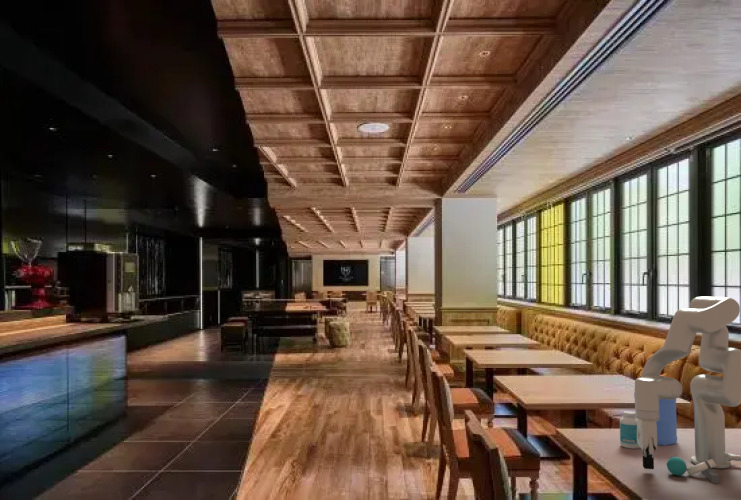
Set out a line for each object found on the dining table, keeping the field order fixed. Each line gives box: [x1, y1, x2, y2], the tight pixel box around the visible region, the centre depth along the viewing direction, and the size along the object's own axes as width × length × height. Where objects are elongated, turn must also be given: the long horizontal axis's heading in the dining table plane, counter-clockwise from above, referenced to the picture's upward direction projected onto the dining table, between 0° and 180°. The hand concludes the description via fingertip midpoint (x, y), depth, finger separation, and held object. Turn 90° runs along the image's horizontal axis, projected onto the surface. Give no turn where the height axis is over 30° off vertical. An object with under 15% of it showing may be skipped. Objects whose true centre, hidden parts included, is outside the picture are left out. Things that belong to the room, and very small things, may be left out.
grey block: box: [700, 468, 720, 484], centre depth 198 cm, size 2×12×2 cm, turn 166°
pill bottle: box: [619, 410, 641, 450], centre depth 233 cm, size 8×7×14 cm
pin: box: [686, 459, 716, 477], centre depth 198 cm, size 2×2×9 cm
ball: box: [666, 456, 688, 476], centre depth 200 cm, size 6×6×6 cm
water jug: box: [633, 391, 678, 446], centre depth 243 cm, size 16×16×28 cm
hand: (648, 468), depth 202 cm, fingers closed
